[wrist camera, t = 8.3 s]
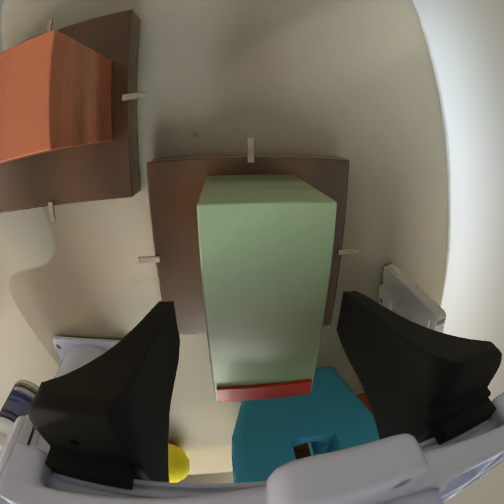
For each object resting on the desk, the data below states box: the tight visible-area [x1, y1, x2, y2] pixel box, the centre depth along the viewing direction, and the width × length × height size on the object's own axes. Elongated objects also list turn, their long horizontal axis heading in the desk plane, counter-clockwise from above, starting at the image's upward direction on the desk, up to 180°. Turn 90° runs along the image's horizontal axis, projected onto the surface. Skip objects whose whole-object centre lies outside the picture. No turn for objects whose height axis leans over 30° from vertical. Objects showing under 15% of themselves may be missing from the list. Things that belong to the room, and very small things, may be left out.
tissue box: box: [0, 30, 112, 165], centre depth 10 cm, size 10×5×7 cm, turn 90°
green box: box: [197, 174, 337, 402], centre depth 15 cm, size 10×5×7 cm, turn 0°
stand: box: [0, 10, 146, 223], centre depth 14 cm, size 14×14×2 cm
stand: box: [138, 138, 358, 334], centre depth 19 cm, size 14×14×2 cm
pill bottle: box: [0, 380, 39, 450], centre depth 21 cm, size 5×5×10 cm
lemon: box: [168, 443, 189, 483], centre depth 27 cm, size 7×5×5 cm
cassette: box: [379, 264, 446, 333], centre depth 21 cm, size 12×2×8 cm, turn 10°
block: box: [232, 368, 380, 483], centre depth 17 cm, size 12×5×20 cm, turn 87°
